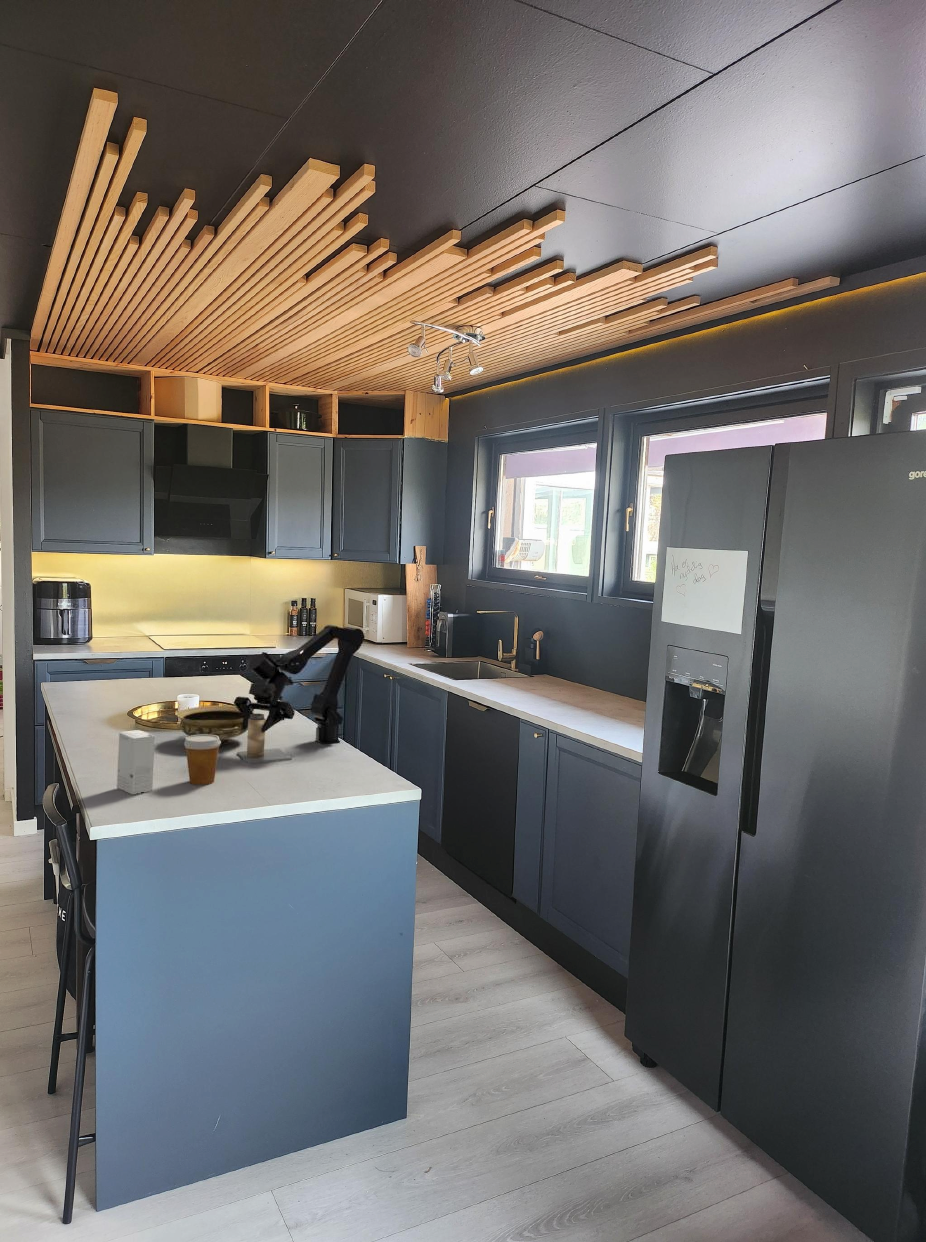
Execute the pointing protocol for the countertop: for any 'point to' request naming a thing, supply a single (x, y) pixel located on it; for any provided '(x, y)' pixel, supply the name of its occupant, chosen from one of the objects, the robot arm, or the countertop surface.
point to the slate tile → (266, 756)
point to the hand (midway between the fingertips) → (252, 730)
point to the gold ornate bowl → (212, 721)
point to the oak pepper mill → (255, 736)
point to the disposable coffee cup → (202, 757)
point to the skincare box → (135, 761)
